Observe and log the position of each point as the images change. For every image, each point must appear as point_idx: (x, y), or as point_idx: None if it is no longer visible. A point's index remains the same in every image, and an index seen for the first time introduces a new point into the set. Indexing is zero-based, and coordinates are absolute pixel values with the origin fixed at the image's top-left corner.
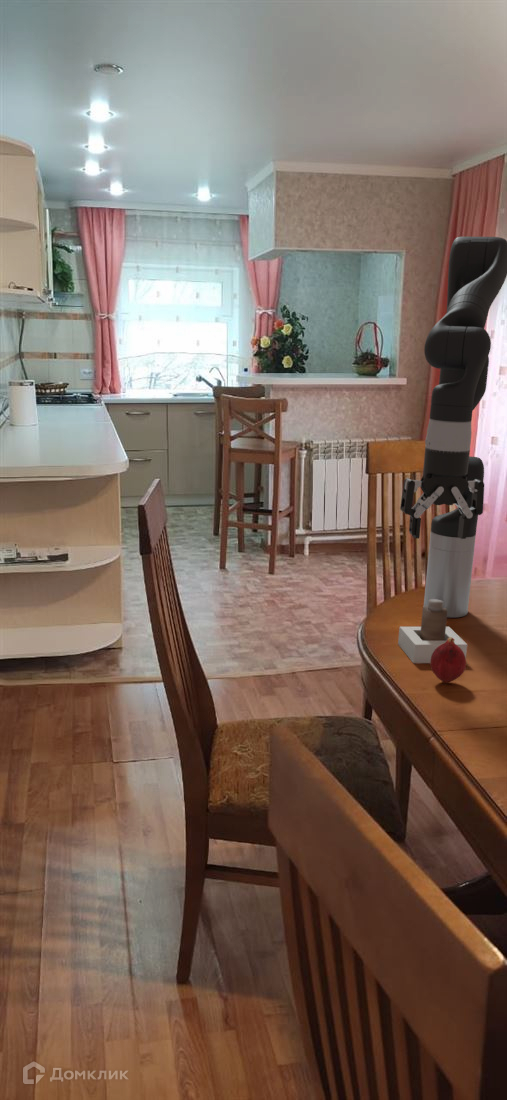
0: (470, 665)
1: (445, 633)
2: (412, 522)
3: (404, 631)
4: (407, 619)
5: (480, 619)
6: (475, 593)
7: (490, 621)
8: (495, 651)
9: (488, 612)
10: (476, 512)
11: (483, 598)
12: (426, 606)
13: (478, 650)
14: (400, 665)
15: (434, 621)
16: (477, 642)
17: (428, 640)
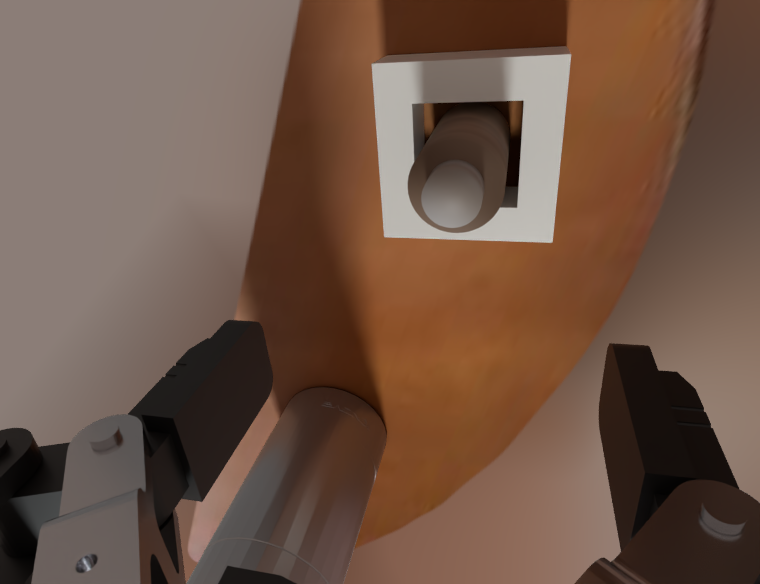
0: (376, 33)
1: None
2: (725, 462)
3: (554, 196)
4: (448, 392)
5: None
6: None
7: None
8: (273, 156)
9: None
10: (25, 449)
11: (230, 482)
12: (478, 222)
13: (319, 164)
14: (623, 22)
15: (474, 131)
16: (307, 225)
17: (492, 121)
